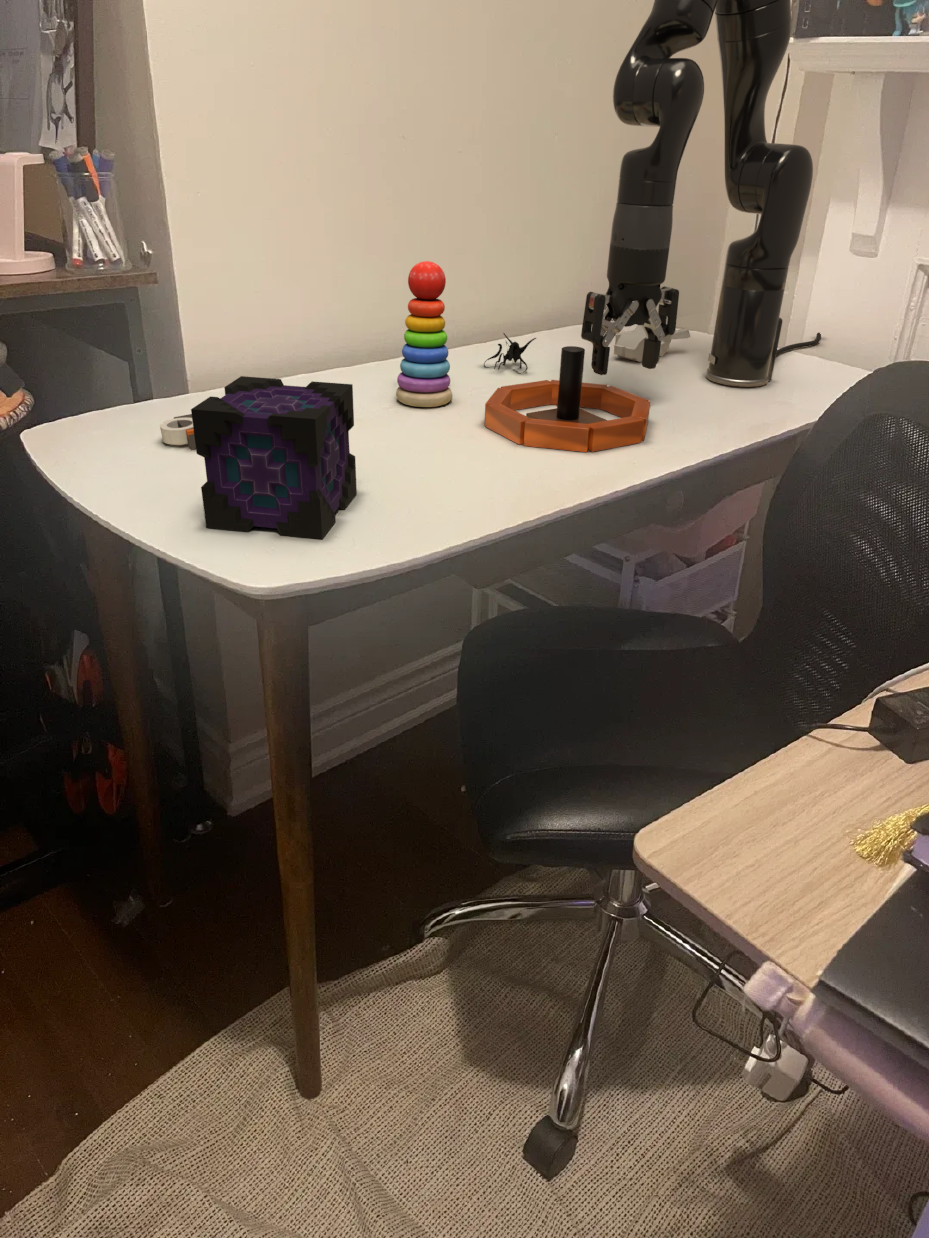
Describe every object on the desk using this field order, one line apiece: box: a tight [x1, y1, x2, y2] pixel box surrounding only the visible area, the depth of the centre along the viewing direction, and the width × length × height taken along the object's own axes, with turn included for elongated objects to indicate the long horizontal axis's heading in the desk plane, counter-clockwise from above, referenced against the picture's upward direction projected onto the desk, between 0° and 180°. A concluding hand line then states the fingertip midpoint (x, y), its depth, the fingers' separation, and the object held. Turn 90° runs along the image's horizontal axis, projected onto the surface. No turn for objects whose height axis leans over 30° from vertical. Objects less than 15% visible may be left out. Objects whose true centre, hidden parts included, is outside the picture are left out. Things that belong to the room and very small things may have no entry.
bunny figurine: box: [613, 325, 691, 363], centre depth 155 cm, size 10×5×15 cm
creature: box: [483, 332, 537, 375], centre depth 145 cm, size 8×5×8 cm
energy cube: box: [190, 375, 358, 540], centre depth 91 cm, size 12×12×12 cm
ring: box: [484, 379, 651, 453], centre depth 121 cm, size 21×21×3 cm
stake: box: [525, 345, 609, 424], centre depth 119 cm, size 8×8×10 cm
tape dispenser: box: [159, 413, 196, 451], centre depth 113 cm, size 7×3×15 cm
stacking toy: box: [395, 260, 453, 408], centre depth 124 cm, size 8×8×19 cm
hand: (624, 370), depth 123 cm, fingers open, 8 cm apart
